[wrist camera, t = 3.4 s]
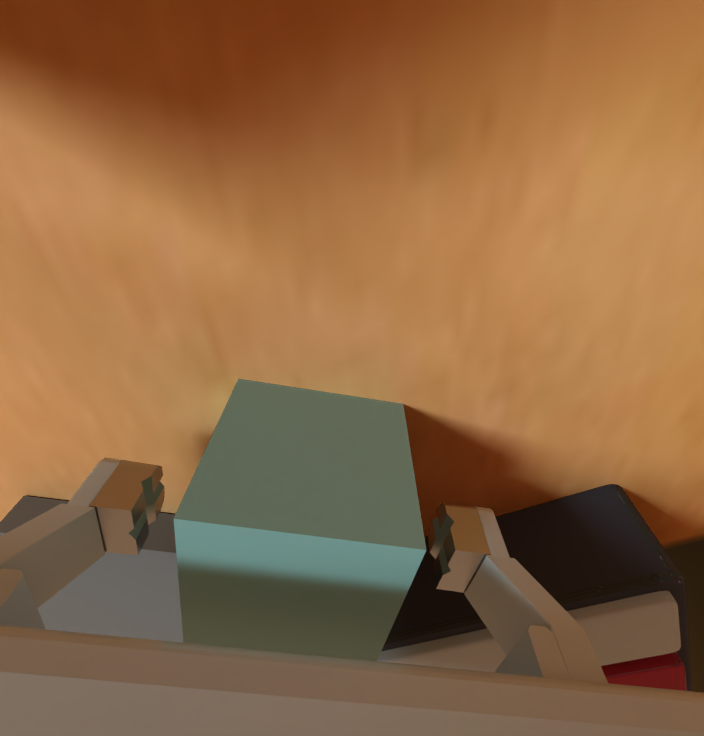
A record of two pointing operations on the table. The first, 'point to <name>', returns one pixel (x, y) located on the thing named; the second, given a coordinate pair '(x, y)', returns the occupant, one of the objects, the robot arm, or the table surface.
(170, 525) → the slate coaster
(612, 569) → the calculator
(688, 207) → the table surface
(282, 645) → the teal cube
